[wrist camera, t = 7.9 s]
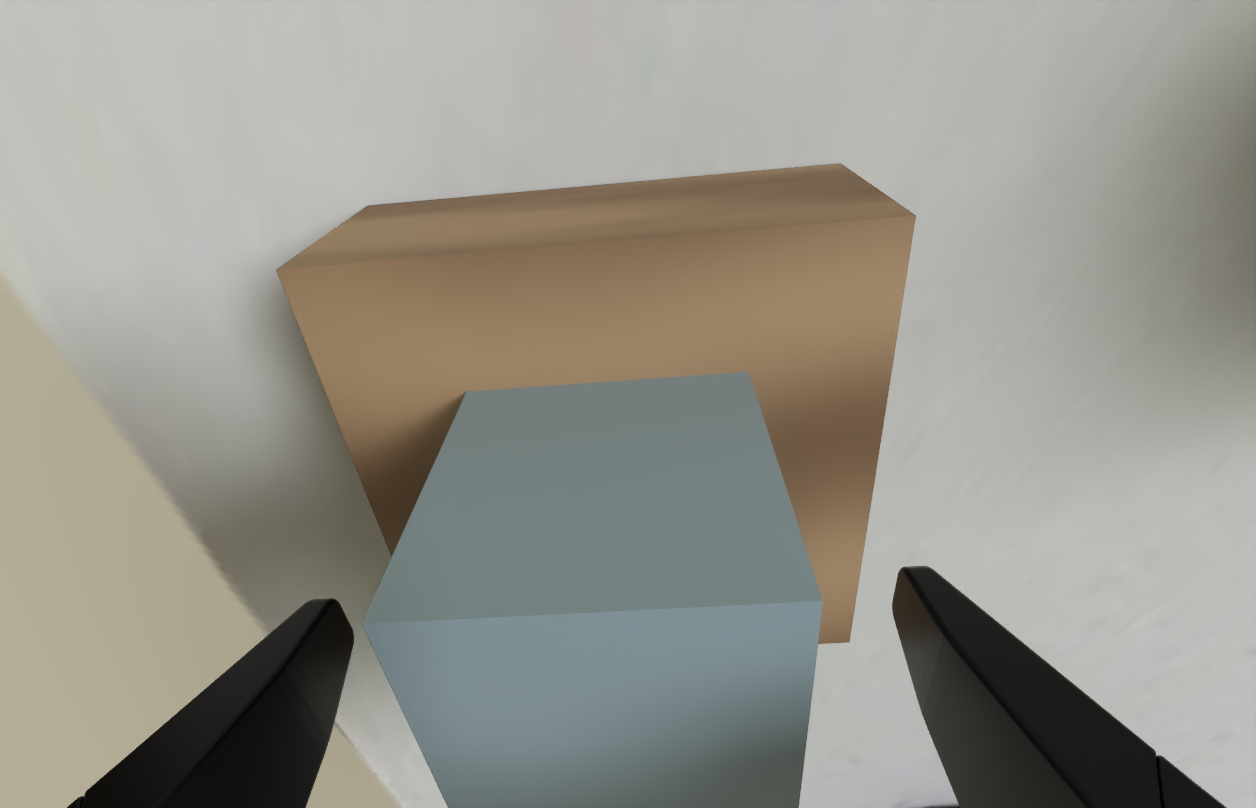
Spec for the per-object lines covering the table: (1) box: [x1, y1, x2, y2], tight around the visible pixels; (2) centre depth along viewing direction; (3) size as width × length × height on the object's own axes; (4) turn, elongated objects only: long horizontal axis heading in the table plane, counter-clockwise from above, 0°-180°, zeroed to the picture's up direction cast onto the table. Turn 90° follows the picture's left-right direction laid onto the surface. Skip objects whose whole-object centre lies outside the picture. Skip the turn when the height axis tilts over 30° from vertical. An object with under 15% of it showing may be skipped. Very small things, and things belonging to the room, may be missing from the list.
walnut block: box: [276, 163, 916, 644], centre depth 14 cm, size 10×10×4 cm
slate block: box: [361, 372, 823, 808], centre depth 10 cm, size 5×5×5 cm
